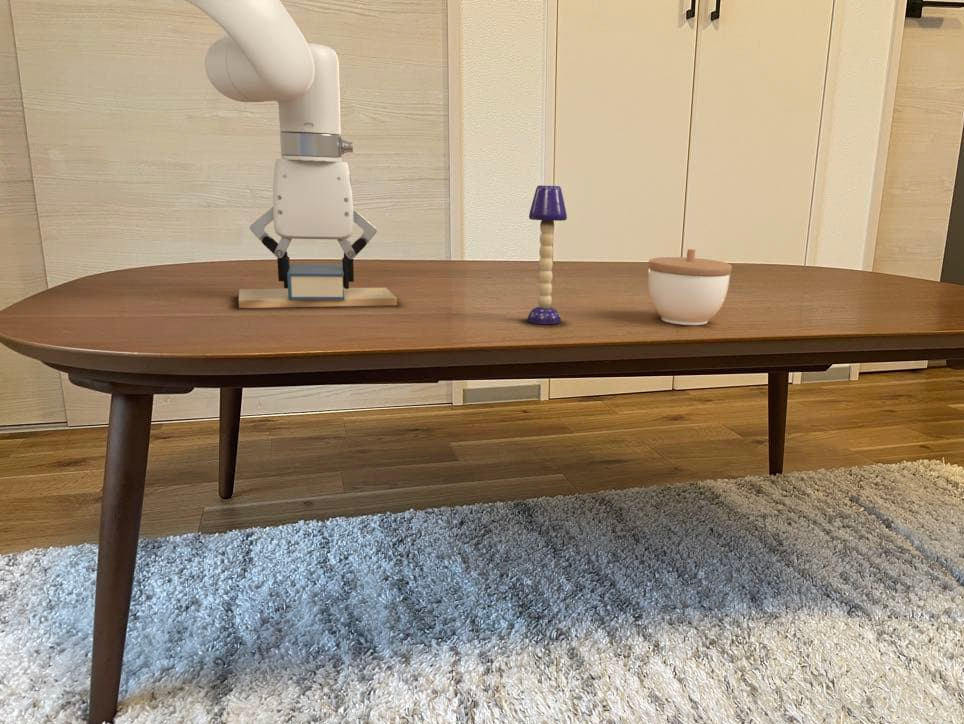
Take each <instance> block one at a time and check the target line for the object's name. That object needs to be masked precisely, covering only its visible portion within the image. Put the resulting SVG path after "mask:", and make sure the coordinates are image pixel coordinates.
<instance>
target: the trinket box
mask: <svg viewBox="0 0 964 724" xmlns="http://www.w3.org/2000/svg"><path fill="white" fill-rule="evenodd" d="M647 268H648V278H647V279H648V280H647V285H648V287H647V288H648V296H649V300H650V303H651V305H652V308H653V309H654V311H656V312H657V314H658V315H659V316H660V317H661V318H660V319H661V321H663V322H665V323H669V324H674V325H681V326H702V325H707V324H708V322H709V320H710V319H712V318H713V317H714V316H715V315H716V314H717V313H718V312H719V311H720V310H721V308H722V306H723V305H724V303H725V300H726V297H727V294H728V290H729V286H730V279H731V273H732V270H733V266H732V264H730V263H728V262H725V261H720V260H716V259H706V258H697V257H696V249H694V248H693V249H692V248H687V250H686V257H681V256H680V257H677V256H675V257H674V256H665V257H664V256H662V257H654V258H650V259H649V260H648V267H647Z"/></svg>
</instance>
